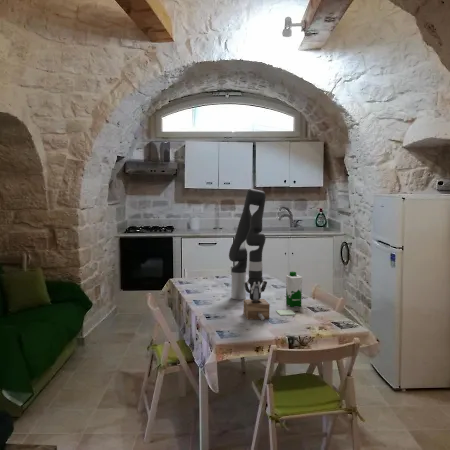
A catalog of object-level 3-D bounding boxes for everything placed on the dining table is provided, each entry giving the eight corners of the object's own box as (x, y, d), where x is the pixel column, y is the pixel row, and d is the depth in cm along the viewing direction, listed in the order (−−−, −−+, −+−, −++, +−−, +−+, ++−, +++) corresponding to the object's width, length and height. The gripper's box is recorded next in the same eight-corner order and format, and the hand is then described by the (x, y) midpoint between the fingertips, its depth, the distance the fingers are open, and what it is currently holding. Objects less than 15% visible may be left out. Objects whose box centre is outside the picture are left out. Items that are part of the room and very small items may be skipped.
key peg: (257, 306, 261) (256, 282, 261) (261, 307, 257) (260, 283, 257) (250, 307, 259) (249, 283, 259) (254, 308, 255) (253, 284, 255)
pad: (275, 311, 269) (275, 310, 269) (290, 310, 271) (290, 309, 271) (280, 315, 260) (280, 314, 260) (295, 315, 262) (295, 314, 262)
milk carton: (297, 303, 288) (297, 271, 287) (303, 306, 280) (304, 274, 278) (284, 303, 286) (284, 271, 284) (290, 307, 277) (290, 274, 276)
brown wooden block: (243, 313, 265) (243, 299, 264) (263, 312, 267) (264, 298, 266) (251, 324, 244) (251, 309, 243) (273, 323, 246) (273, 308, 245)
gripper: (264, 267, 263) (264, 297, 265) (241, 268, 258) (240, 299, 260) (270, 269, 256) (269, 300, 258) (246, 271, 251) (245, 302, 253)
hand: (255, 299), depth 259 cm, fingers closed on key peg, 3 cm apart
